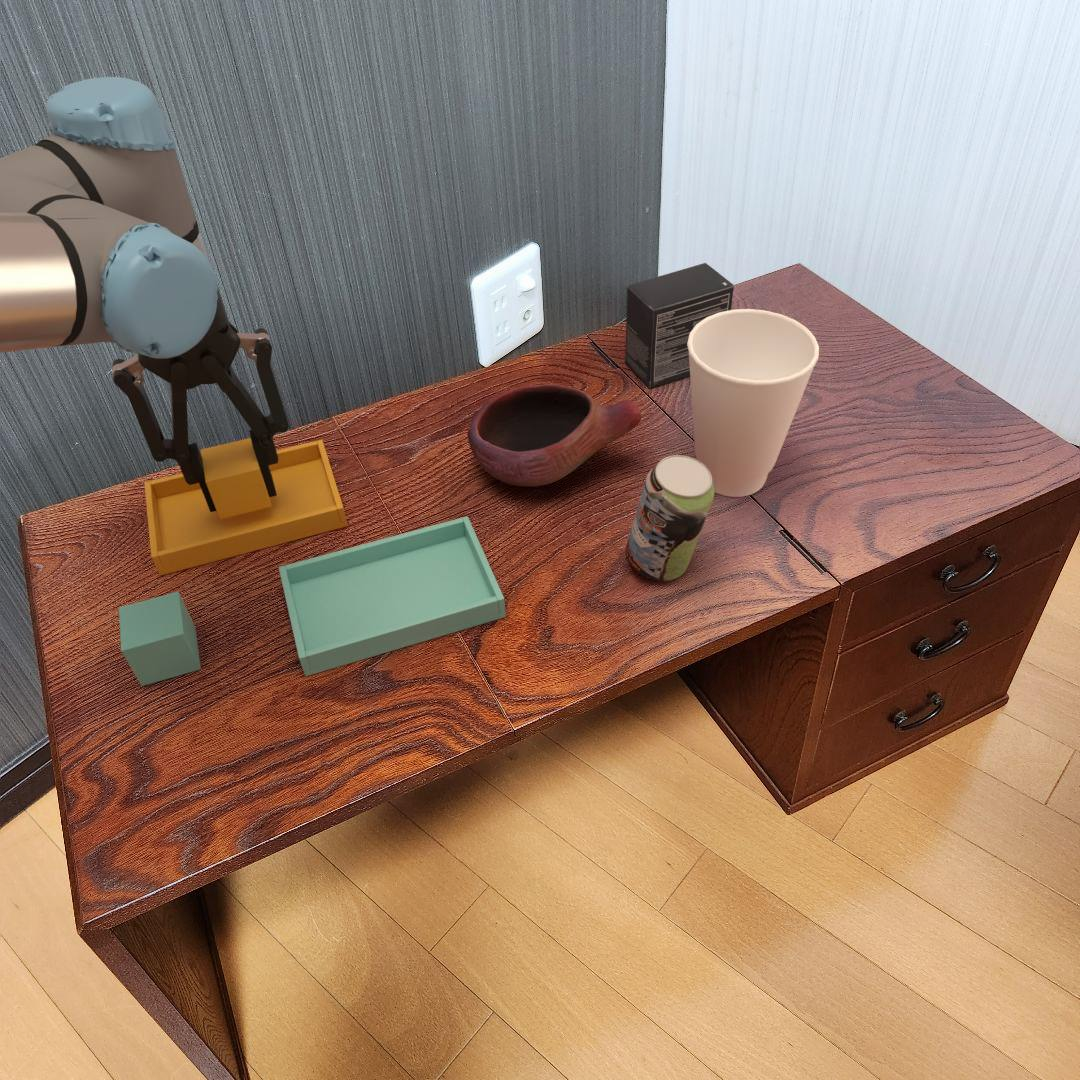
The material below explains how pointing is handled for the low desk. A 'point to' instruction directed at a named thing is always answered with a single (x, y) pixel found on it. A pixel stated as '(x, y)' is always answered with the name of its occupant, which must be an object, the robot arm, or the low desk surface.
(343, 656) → the teal tray
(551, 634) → the low desk surface
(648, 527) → the beverage can
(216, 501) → the ochre block
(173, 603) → the teal block
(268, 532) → the ochre tray
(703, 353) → the cup
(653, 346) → the small box
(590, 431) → the bowl
